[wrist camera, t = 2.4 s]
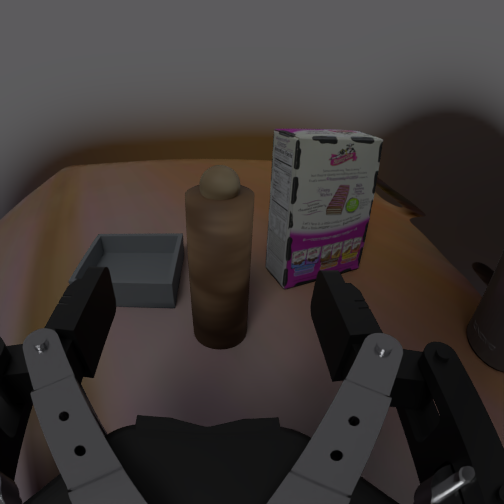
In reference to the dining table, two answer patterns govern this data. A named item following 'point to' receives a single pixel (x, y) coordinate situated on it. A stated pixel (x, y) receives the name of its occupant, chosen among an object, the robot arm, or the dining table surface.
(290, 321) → the dining table surface
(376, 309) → the dining table surface
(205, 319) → the pepper mill
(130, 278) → the tray
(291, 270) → the candy bar box
